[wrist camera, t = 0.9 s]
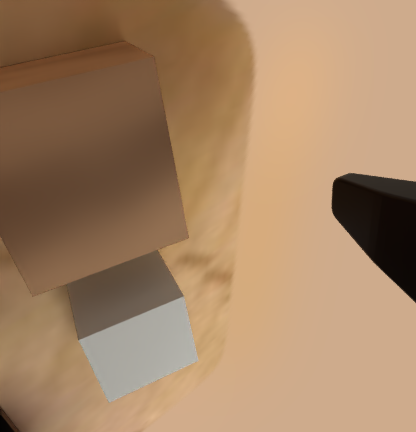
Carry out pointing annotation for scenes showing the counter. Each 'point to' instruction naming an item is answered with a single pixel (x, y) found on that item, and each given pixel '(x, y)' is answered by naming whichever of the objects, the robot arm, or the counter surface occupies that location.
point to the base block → (85, 164)
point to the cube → (132, 324)
